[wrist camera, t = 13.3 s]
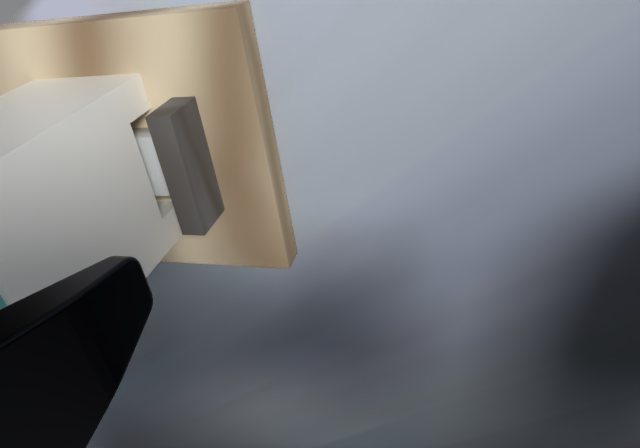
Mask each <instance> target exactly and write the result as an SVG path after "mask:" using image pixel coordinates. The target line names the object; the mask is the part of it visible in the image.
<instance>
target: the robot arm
mask: <svg viewBox="0 0 640 448" xmlns="http://www.w3.org/2000/svg"><path fill="white" fill-rule="evenodd" d="M152 305H153V297H152V293H151V290H150V287H149V285H148V282H147V279H146V277H145V274H144V272H143V269H142V266H141V264H140V262H139V261H138V260H137V259H136V258H134V257H132V256H110V257H108V258H106V259H104V260H102V261H99V262H97V263H95V264H93V265H91V266H89V267H87V268H85V269H83V270H81V271H79V272H77V273H75V274H73V275H70V276H68V277H66V278H64V279H62V280H60V281H58V282H56V283H54V284H52V285H50V286H48V287H46V288H43V289H41V290H39V291H37V292H35V293H33V294H31V295H29V296H27V297H25V298H23V299H21V300H19V301H17V302H14V303H12V304H10V305H8V306H6V307H4V308H2V309H0V448H86V446H87V445H88V443H89V441H90V439H91V437H92V435H93V434H94V432H95V430H96V428H97V426H98V424H99V423H100V421H101V419H102V417H103V415H104V413H105V412H106V410H107V408H108V406H109V404H110V402H111V400H112V398H113V397H114V395H115V393H116V391H117V389H118V387H119V384H120V382H121V380H122V378H123V376H124V373H125V371H126V369H127V366H128V364H129V361H130V359H131V357H132V354H133V352H134V350H135V347H136V345H137V343H138V340H139V338H140V335H141V333H142V331H143V328H144V326H145V324H146V321H147V319H148V317H149V314H150V312H151V309H152Z"/></svg>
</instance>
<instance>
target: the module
mask: <svg viewBox="0 0 640 448" xmlns="http://www.w3.org/2000/svg"><path fill="white" fill-rule="evenodd" d="M149 109H151V108H150V104H149V101H148V98H147V95H146V92H145V88H144V85H143V82H142V79H141V76H140V73H136V74H120V75H103V76H87V77H71V78H55V79H38V80H32V81H30V82H28V83H26V84H24V85H22V86H20V87H18V88H16V89H14V90H12V91H9V92H7V93H5V94H3V95H1V96H0V309H2V308H4V307H6V306H8V305H10V304H12V303H14V302H17V301H19V300H21V299H23V298H25V297H27V296H29V295H31V294H33V293H35V292H37V291H39V290H41V289H43V288H46V287H48V286H50V285H52V284H54V283H56V282H58V281H60V280H62V279H64V278H66V277H68V276H70V275H73V274H75V273H77V272H79V271H81V270H83V269H85V268H87V267H89V266H91V265H93V264H95V263H97V262H99V261H102V260H104V259H106V258H108V257H110V256H132V257H134V258H136V259H137V260H138V261H139V262H140V264H141V266H142V269H143V272H144V274H145V277H146V278H147V277H148V275H149V274H150V273H151V272H152V271H153V269H154V268H155V267H156V266H157V265H158V263H159V262H160V261H161V260H162V259H163V257H164V256H165V255H166V254H167V253H168V251H169V250H170V249H171V248H172V247H173V245H174V244H175V243H176V242H177V241H178V239H179V238H180V237H181V236H182V232H181V229H180V225H179V222H178V219H177V216H176V213H175V210H174V207H173V203H172V201H163V200H156V198H155V195H154V192H153V189H152V186H151V183H150V180H149V178H148V175H147V172H146V169H145V166H144V163H143V160H142V157H141V154H140V151H139V148H138V145H137V142H136V139H135V136H134V133H133V130H132V127H131V124H130V123H131V122H133V121H134V120H136V119H137V118H138V117H140V116H141V115H142V114H144V113H145V112H147V111H148V110H149Z"/></svg>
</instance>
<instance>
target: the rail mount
mask: <svg viewBox="0 0 640 448" xmlns="http://www.w3.org/2000/svg"><path fill="white" fill-rule="evenodd" d="M136 73H140V76H141V79H142V82H143V85H144V88H145V92H146V95H147V98H148V101H149V104H150V108H151V109H149V110H148V111H147V112H145V113H144V114H142V115H141V116H140V117H138V118H137V119H136V120H134V121H133V122H131V123H130V124H131V127H132V130H133V133H134V136H135V139H136V142H137V145H138V148H139V151H140V154H141V157H142V160H143V163H144V166H145V169H146V172H147V175H148V178H149V180H150V183H151V186H152V189H153V192H154V195H155V198H156V200H163V201H172V203H173V207H174V210H175V213H176V216H177V219H178V222H179V225H180V229H181V232H182V236H181V237H180V238H179V239H178V241H177V242H176V243H175V244H174V245H173V247H172V248H171V249H170V250H169V251H168V253H167V254H166V255H165V256H164V257H163V259H162V260H161V261H160V262H177V263H195V264H213V265H231V266H249V267H267V268H285V269H290V267H291V265H292V263H293V261H294V259H295V257H296V255H297V248H296V243H295V238H294V233H293V228H292V222H291V217H290V212H289V207H288V201H287V196H286V191H285V186H284V180H283V175H282V170H281V165H280V159H279V154H278V149H277V144H276V139H275V133H274V128H273V123H272V118H271V112H270V107H269V102H268V97H267V91H266V86H265V81H264V76H263V71H262V65H261V60H260V55H259V50H258V44H257V39H256V34H255V29H254V23H253V18H252V13H251V8H250V2H249V0H244V1H234V2H224V3H214V4H203V5H193V6H183V7H173V8H163V9H153V10H143V11H133V12H122V13H112V14H102V15H92V16H82V17H72V18H62V19H52V20H41V21H31V22H21V23H11V24H1V25H0V96H1V95H3V94H5V93H7V92H9V91H12V90H14V89H16V88H18V87H20V86H22V85H24V84H26V83H28V82H30V81H32V80H38V79H55V78H71V77H87V76H103V75H120V74H136Z"/></svg>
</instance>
